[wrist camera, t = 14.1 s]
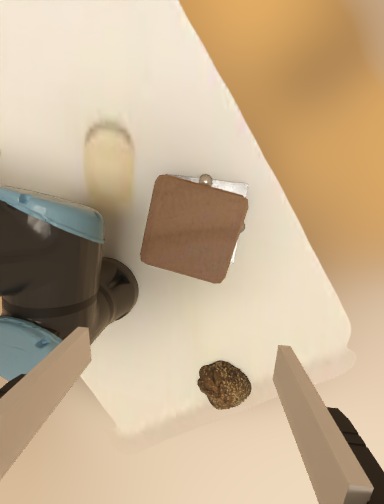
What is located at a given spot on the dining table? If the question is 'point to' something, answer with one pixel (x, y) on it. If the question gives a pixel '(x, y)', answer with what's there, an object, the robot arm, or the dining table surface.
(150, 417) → the dining table surface
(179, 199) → the wooden block
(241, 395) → the brown rounded lump
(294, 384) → the robot arm
